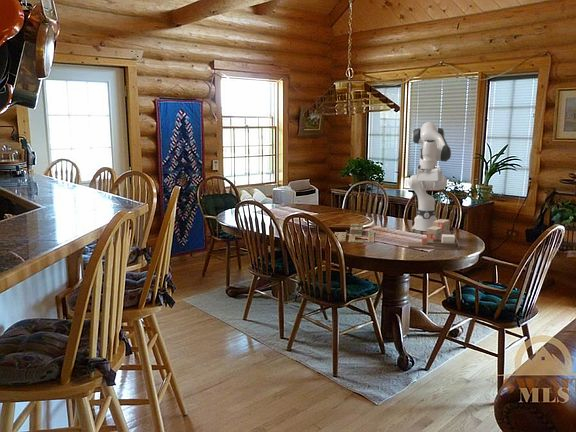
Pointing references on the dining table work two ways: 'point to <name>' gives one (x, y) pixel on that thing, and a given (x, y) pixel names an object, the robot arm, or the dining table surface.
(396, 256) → the dining table surface
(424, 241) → the block
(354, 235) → the pile of dominoes
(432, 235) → the stack of blocks
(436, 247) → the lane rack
